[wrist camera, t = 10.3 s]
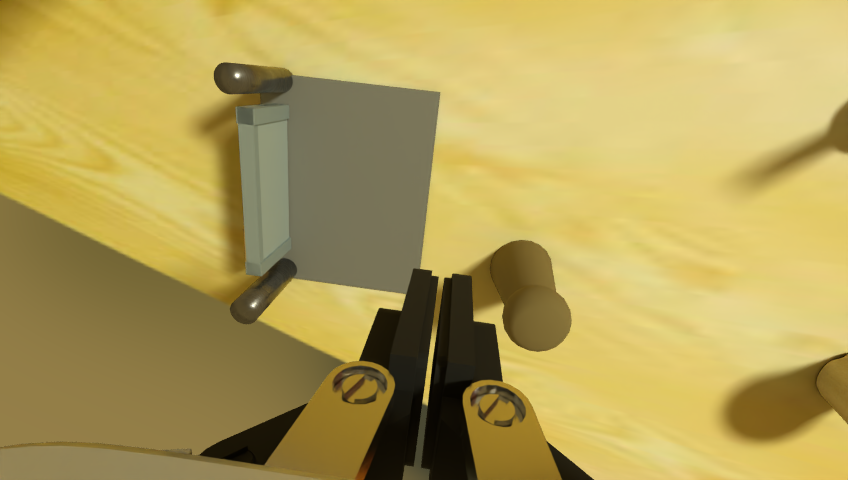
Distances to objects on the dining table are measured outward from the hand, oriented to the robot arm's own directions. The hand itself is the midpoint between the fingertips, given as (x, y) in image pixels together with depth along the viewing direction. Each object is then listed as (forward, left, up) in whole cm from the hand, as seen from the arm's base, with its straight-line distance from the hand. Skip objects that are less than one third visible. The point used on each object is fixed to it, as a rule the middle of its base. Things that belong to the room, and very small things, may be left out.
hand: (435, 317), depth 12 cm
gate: (+4, -16, -27) cm, 31 cm away
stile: (+12, -17, -27) cm, 34 cm away
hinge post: (-5, -16, -27) cm, 32 cm away
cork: (+10, +8, -27) cm, 30 cm away
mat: (+4, -10, -27) cm, 29 cm away
